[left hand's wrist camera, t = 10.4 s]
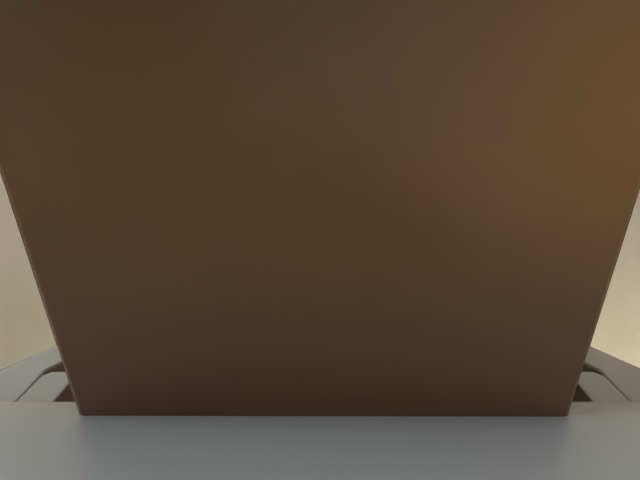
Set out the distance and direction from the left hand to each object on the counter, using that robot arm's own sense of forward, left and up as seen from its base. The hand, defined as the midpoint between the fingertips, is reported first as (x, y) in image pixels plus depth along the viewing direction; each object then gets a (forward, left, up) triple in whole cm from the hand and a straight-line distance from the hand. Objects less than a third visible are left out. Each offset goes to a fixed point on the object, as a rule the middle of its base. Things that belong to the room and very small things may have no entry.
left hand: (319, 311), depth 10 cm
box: (+8, +1, -8) cm, 11 cm away
